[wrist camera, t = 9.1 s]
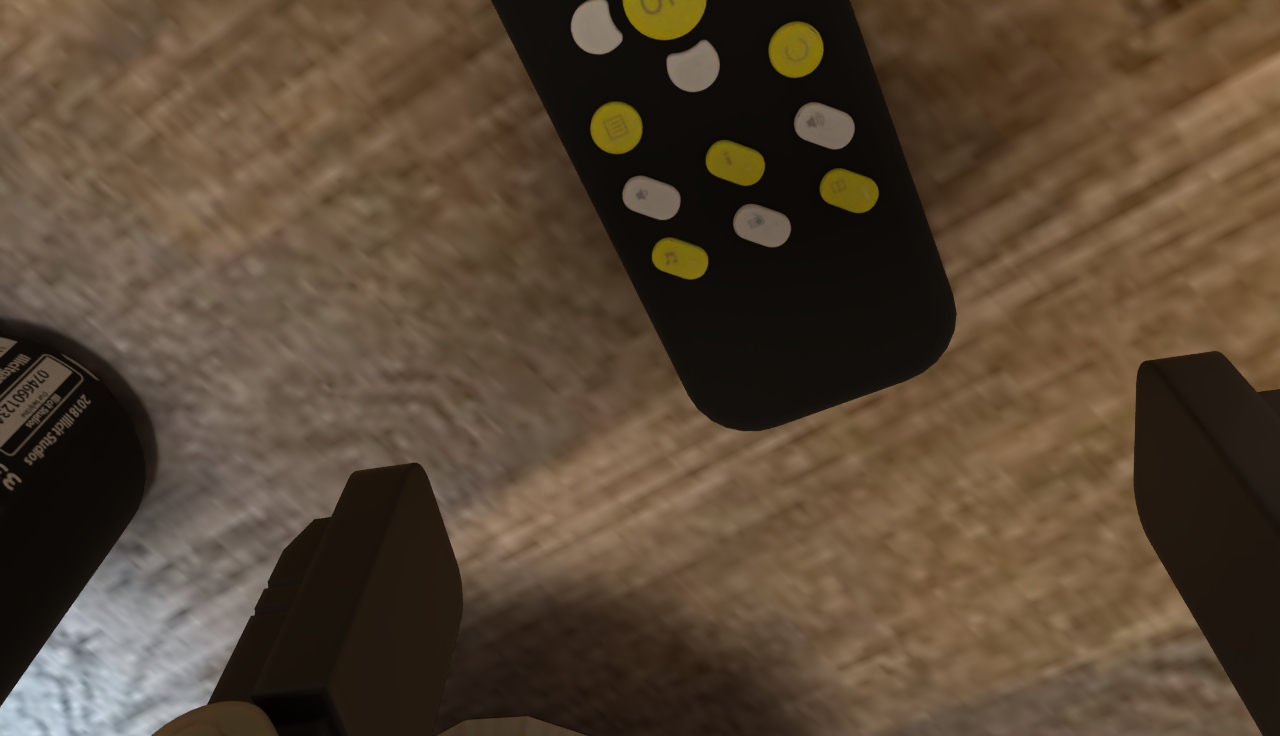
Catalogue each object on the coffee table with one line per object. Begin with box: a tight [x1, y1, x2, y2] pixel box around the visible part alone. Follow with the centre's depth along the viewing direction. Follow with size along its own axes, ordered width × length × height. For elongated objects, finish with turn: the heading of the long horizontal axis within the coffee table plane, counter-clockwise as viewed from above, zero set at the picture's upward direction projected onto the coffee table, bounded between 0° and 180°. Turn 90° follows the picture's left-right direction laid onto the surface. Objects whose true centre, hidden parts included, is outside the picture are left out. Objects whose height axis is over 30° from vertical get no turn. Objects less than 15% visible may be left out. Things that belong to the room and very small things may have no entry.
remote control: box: [491, 0, 956, 431], centre depth 23 cm, size 6×13×2 cm, turn 24°
